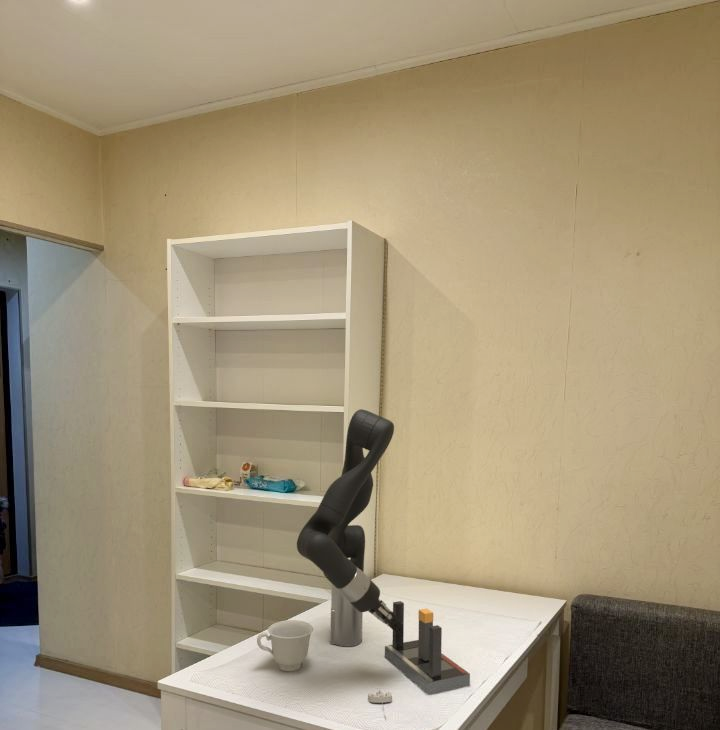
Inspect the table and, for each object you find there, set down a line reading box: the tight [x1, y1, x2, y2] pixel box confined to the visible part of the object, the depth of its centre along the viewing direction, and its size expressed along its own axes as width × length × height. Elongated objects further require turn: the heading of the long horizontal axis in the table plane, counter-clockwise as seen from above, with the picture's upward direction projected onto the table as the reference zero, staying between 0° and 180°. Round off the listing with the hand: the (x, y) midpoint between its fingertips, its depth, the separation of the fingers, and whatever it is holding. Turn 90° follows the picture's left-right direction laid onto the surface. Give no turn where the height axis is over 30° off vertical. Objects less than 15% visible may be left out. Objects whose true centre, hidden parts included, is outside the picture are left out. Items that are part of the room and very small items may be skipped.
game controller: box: [367, 690, 393, 719], centre depth 146 cm, size 6×12×3 cm, turn 23°
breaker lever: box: [418, 608, 434, 661], centre depth 165 cm, size 2×3×12 cm
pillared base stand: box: [384, 600, 471, 696], centre depth 165 cm, size 12×23×15 cm, turn 25°
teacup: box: [256, 619, 314, 672], centre depth 166 cm, size 12×15×10 cm
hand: (400, 630), depth 162 cm, fingers closed
